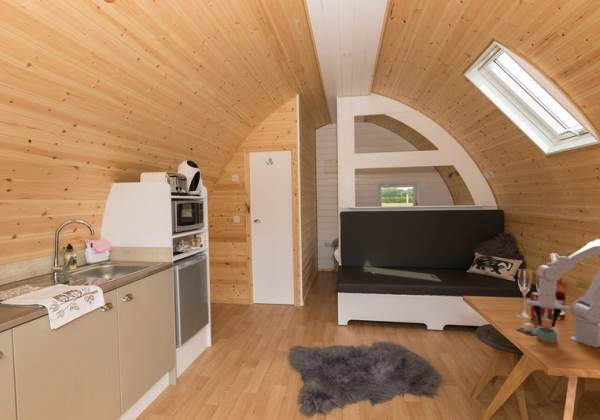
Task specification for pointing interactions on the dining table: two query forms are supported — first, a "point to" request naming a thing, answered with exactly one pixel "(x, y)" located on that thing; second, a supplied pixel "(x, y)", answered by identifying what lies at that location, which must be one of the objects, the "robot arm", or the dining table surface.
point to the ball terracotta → (546, 323)
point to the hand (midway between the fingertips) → (546, 324)
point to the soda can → (543, 310)
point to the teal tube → (546, 334)
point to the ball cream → (528, 327)
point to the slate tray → (529, 332)
